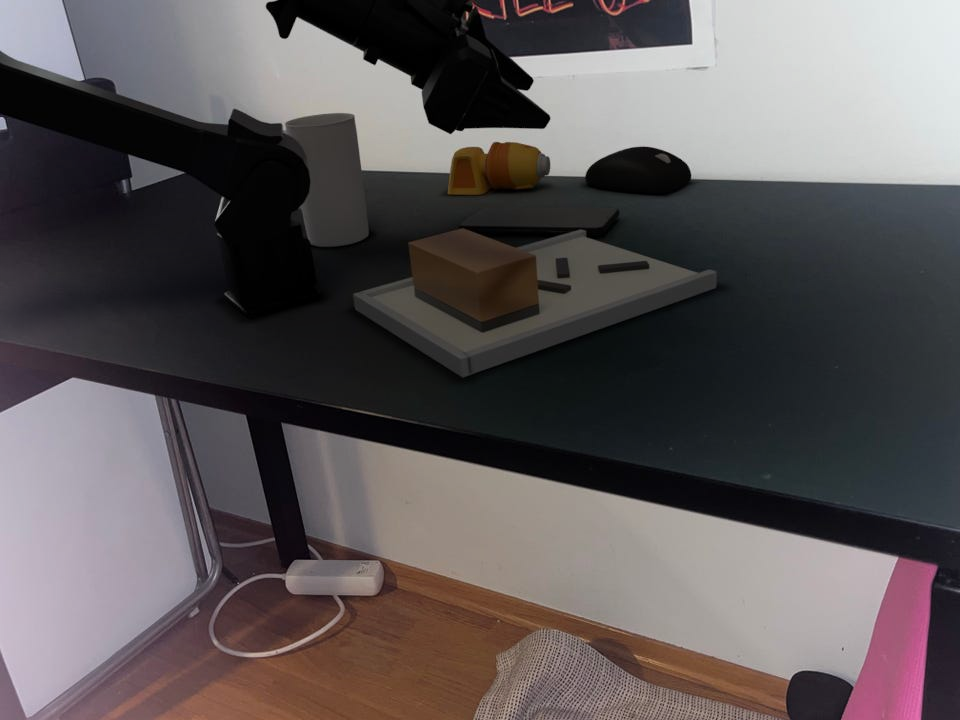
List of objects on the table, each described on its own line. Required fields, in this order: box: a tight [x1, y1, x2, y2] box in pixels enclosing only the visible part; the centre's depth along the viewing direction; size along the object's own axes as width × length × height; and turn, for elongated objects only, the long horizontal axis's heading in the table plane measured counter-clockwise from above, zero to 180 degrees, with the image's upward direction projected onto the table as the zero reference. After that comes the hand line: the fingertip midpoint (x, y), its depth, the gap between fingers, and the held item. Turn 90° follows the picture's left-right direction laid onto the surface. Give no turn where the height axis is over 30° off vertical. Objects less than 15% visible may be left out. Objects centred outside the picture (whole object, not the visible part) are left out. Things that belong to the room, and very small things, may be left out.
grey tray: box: [352, 230, 718, 379], centre depth 69 cm, size 23×17×1 cm
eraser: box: [407, 228, 539, 332], centre depth 65 cm, size 5×10×4 cm, turn 32°
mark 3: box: [598, 261, 649, 274], centre depth 70 cm, size 1×4×1 cm, turn 92°
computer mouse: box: [584, 146, 692, 195], centre depth 98 cm, size 8×12×4 cm, turn 51°
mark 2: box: [556, 258, 570, 278], centre depth 71 cm, size 1×4×1 cm, turn 177°
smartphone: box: [457, 206, 620, 237], centre depth 87 cm, size 7×1×15 cm
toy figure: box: [447, 141, 551, 196], centre depth 101 cm, size 5×6×12 cm
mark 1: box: [538, 280, 571, 294], centre depth 68 cm, size 1×4×1 cm, turn 52°
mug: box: [283, 112, 370, 248], centre depth 88 cm, size 10×7×12 cm, turn 59°
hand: (539, 102), depth 72 cm, fingers open, 9 cm apart
